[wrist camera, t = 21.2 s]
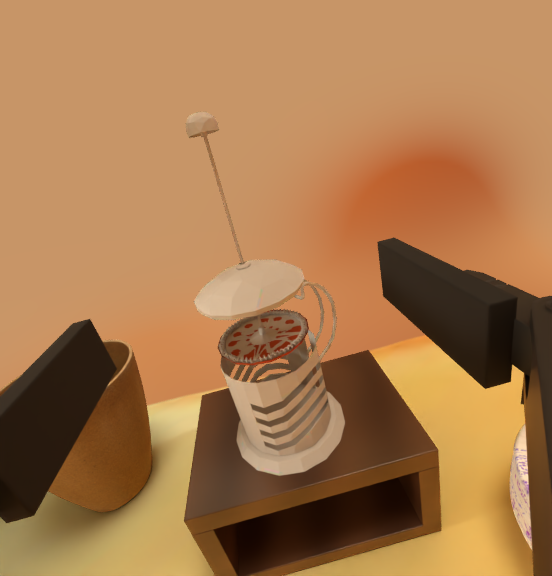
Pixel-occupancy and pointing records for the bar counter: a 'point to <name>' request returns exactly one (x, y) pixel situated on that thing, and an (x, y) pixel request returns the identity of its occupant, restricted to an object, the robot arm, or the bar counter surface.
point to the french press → (270, 356)
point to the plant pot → (110, 442)
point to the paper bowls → (521, 485)
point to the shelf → (315, 483)
